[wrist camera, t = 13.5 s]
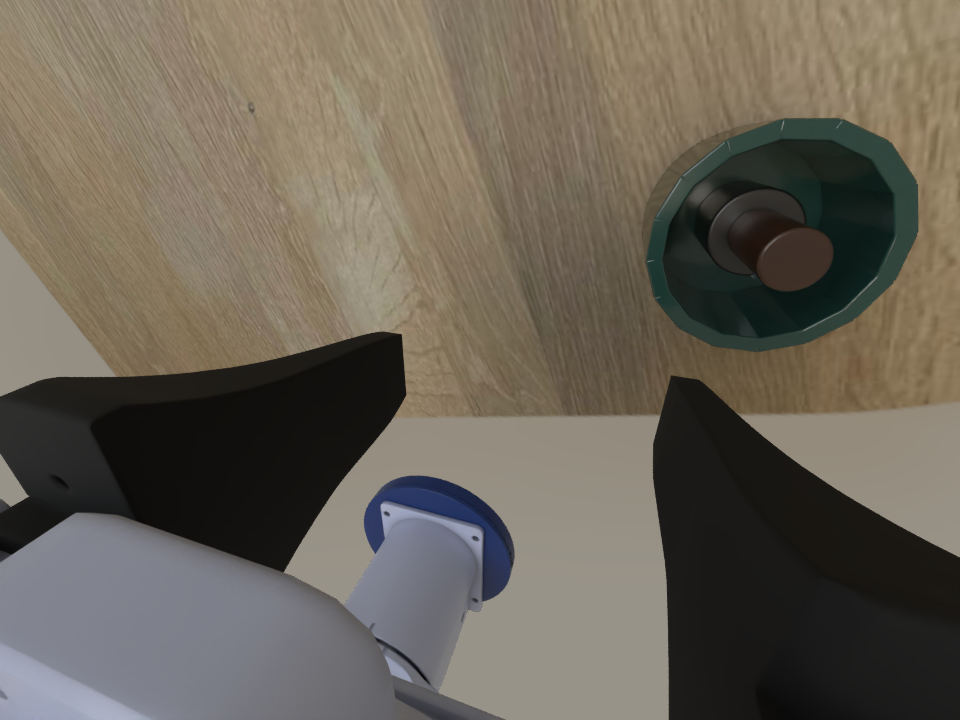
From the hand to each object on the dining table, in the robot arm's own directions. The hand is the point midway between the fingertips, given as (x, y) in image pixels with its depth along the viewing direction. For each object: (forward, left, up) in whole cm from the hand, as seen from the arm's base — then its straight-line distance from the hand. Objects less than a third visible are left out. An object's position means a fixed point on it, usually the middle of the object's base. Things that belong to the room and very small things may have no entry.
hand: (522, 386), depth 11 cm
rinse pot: (+3, -6, -10) cm, 12 cm away
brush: (+3, -6, -10) cm, 12 cm away
